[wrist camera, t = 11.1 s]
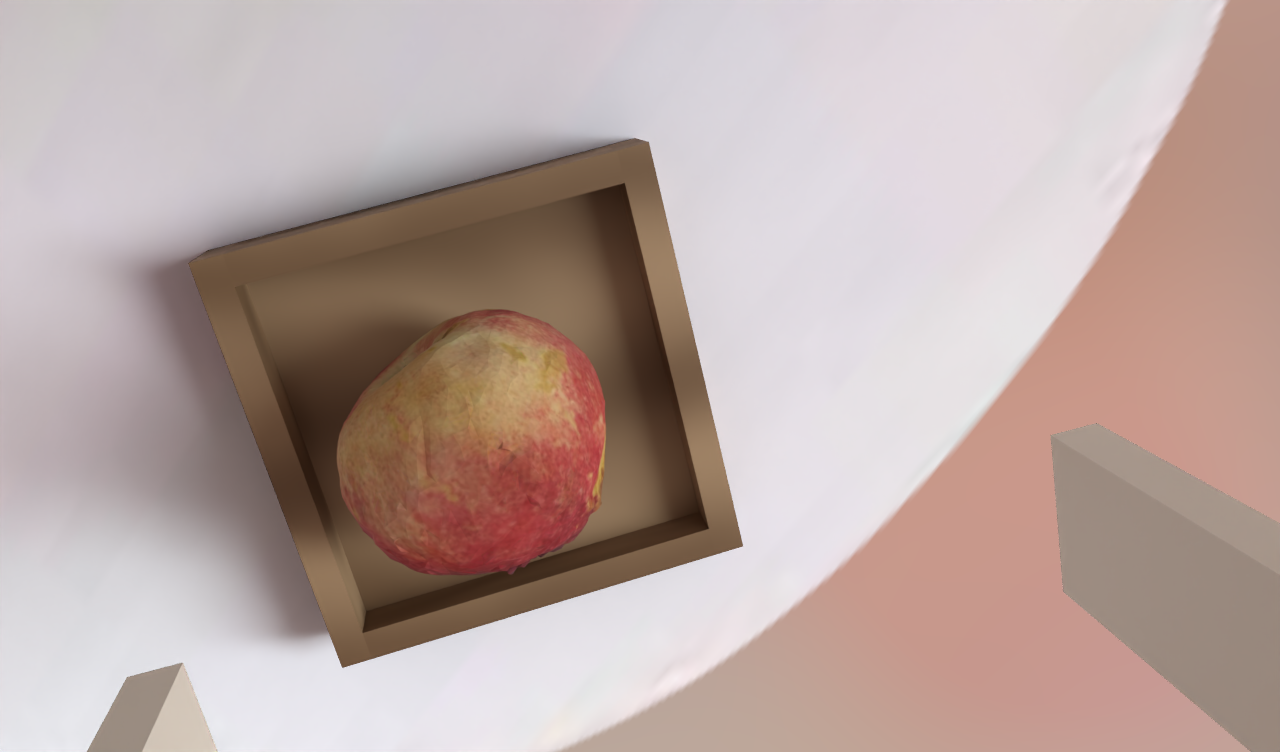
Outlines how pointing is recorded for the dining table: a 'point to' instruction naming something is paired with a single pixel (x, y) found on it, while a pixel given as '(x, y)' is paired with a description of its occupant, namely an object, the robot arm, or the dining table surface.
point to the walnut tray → (453, 286)
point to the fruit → (476, 446)
